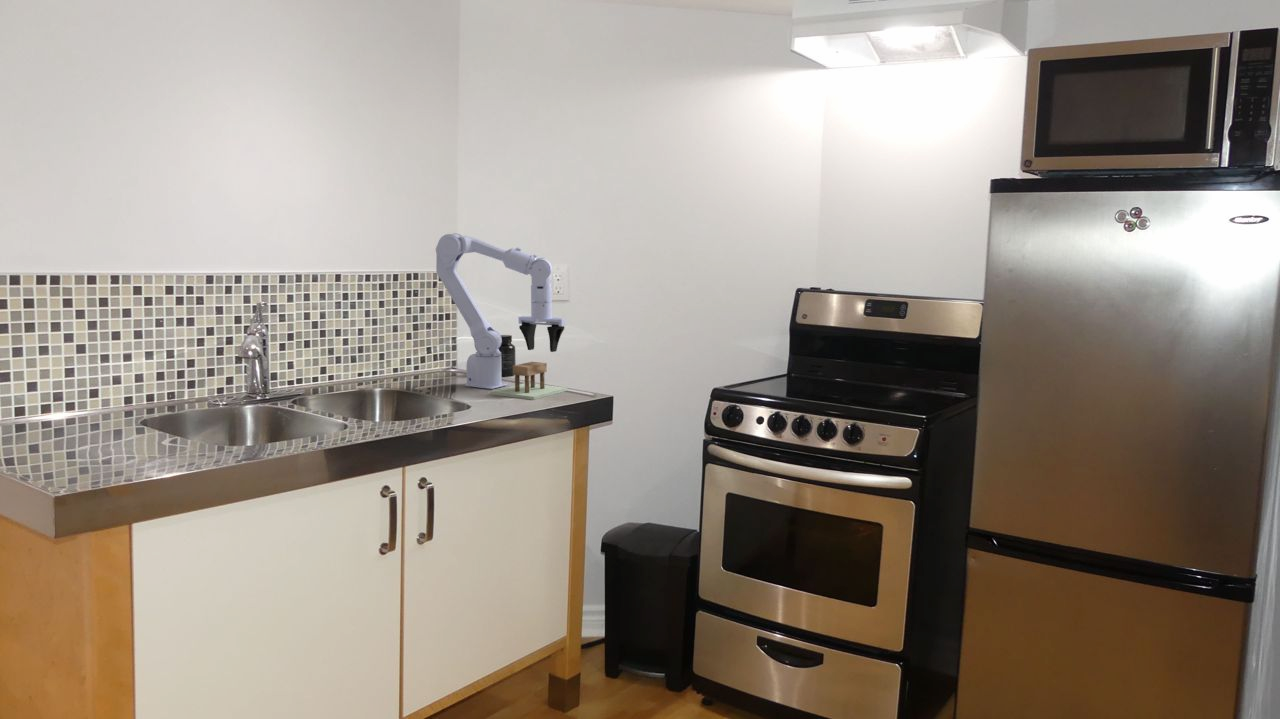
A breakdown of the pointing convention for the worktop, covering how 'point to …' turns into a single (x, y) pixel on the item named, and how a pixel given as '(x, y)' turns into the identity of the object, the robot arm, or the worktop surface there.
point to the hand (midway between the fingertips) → (542, 350)
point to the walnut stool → (529, 374)
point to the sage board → (533, 392)
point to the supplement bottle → (507, 355)
